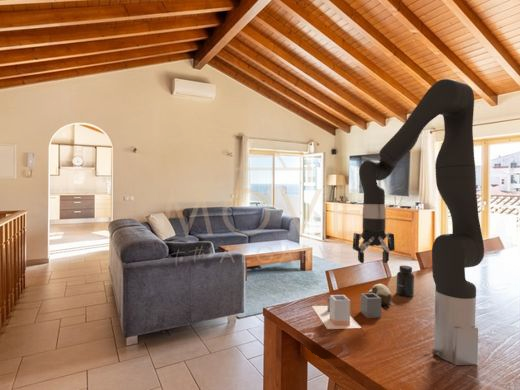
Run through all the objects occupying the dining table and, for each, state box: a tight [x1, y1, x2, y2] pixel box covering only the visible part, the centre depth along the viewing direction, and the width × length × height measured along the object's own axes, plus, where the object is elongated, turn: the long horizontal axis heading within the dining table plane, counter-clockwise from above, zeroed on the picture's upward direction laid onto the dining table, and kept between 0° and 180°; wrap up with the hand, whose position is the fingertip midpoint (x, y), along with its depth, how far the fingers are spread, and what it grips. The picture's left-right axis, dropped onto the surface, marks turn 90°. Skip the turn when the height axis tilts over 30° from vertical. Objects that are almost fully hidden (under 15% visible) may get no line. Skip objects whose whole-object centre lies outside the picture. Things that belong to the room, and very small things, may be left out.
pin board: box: [311, 296, 362, 330], centre depth 103 cm, size 18×11×6 cm, turn 6°
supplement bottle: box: [395, 265, 415, 298], centre depth 129 cm, size 7×7×12 cm
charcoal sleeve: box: [360, 292, 382, 319], centre depth 104 cm, size 5×5×8 cm
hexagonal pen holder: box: [329, 294, 351, 326], centre depth 98 cm, size 5×5×8 cm
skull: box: [367, 283, 396, 308], centre depth 120 cm, size 12×10×10 cm
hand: (373, 262), depth 106 cm, fingers open, 8 cm apart
